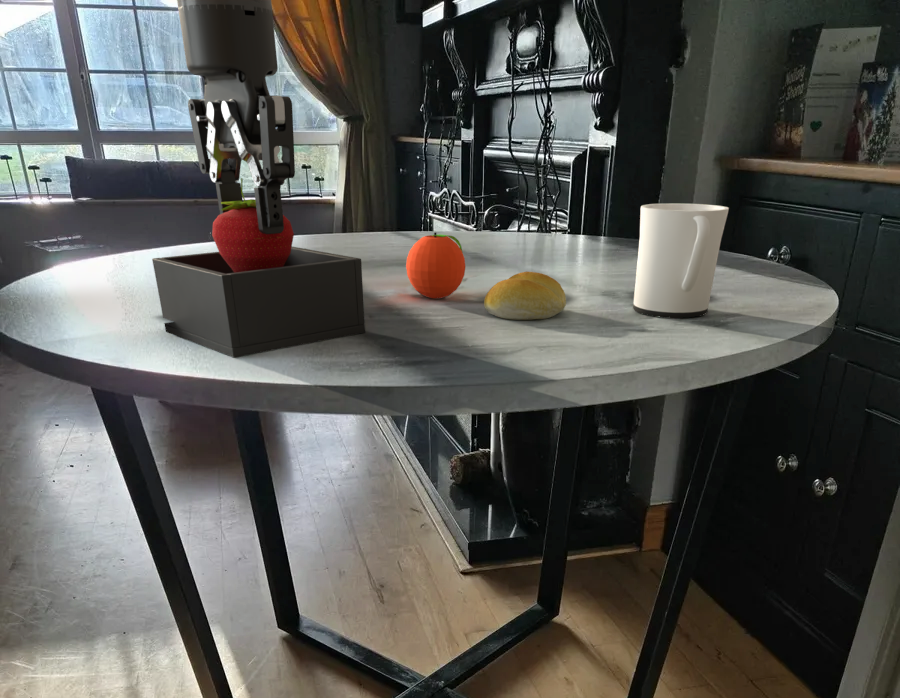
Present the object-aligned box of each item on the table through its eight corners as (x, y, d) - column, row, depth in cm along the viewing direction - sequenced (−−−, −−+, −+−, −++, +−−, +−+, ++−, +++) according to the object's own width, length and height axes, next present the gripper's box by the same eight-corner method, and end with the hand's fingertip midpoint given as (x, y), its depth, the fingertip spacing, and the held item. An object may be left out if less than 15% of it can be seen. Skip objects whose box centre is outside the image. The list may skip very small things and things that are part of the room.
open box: (233, 357, 69) (221, 275, 65) (165, 332, 77) (151, 258, 74) (365, 332, 77) (361, 258, 74) (290, 312, 86) (283, 244, 82)
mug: (619, 303, 90) (630, 203, 84) (693, 302, 90) (709, 203, 85) (649, 324, 80) (663, 213, 75) (732, 322, 81) (752, 212, 76)
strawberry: (293, 300, 73) (282, 179, 68) (213, 300, 73) (195, 179, 68) (304, 289, 78) (294, 176, 73) (229, 288, 78) (213, 175, 73)
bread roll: (473, 317, 83) (473, 277, 81) (508, 302, 90) (510, 265, 88) (544, 325, 80) (547, 283, 78) (576, 309, 87) (579, 271, 85)
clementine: (442, 289, 97) (441, 227, 94) (483, 296, 93) (484, 231, 90) (394, 298, 93) (392, 232, 89) (436, 306, 88) (435, 237, 85)
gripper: (143, 10, 66) (179, 227, 75) (227, -9, 57) (257, 240, 66) (223, 17, 70) (248, 221, 79) (313, 1, 61) (330, 233, 70)
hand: (252, 229), depth 72 cm, fingers closed on strawberry, 6 cm apart
